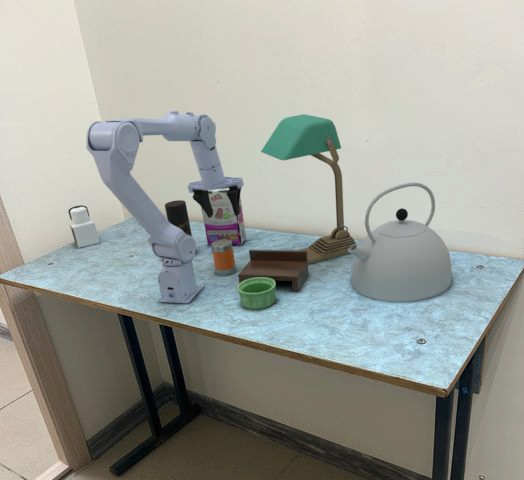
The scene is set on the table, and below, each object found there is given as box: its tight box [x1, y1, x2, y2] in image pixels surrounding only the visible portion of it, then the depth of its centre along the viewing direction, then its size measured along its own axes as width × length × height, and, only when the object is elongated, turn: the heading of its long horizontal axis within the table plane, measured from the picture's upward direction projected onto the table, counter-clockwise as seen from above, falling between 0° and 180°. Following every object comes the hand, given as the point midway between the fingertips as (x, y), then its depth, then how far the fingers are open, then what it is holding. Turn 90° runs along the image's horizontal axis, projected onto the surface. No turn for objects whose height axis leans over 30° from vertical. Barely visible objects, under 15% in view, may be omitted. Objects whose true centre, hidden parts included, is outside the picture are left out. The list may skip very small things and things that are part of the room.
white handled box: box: [67, 204, 101, 249], centre depth 177 cm, size 7×7×12 cm
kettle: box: [348, 181, 452, 303], centre depth 122 cm, size 25×23×22 cm
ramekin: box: [236, 277, 277, 310], centre depth 126 cm, size 9×9×4 cm
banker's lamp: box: [260, 113, 357, 265], centre depth 139 cm, size 16×21×35 cm
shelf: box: [237, 249, 310, 293], centre depth 134 cm, size 10×15×6 cm, turn 71°
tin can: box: [210, 240, 237, 277], centre depth 143 cm, size 6×6×8 cm
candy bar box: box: [200, 188, 247, 246], centre depth 160 cm, size 11×5×16 cm, turn 73°
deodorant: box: [164, 199, 193, 237], centre depth 157 cm, size 6×6×15 cm
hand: (224, 214), depth 142 cm, fingers open, 7 cm apart
